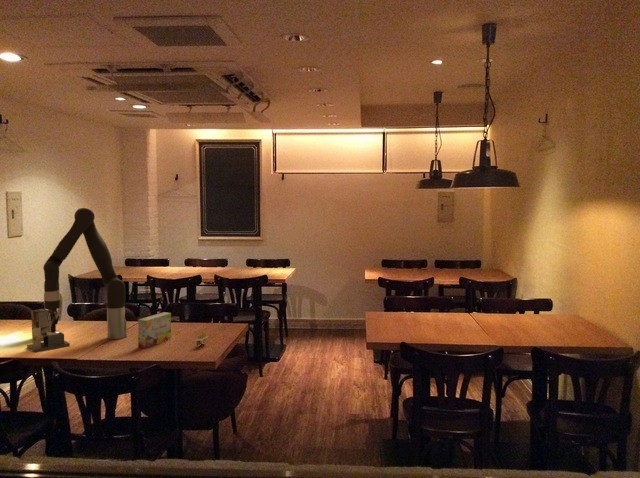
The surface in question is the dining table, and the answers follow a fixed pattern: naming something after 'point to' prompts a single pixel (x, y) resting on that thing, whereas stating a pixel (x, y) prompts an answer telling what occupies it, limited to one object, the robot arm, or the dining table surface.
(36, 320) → the coffee box
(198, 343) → the pale green irregular piece
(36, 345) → the stand
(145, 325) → the snack box
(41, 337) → the plunger
